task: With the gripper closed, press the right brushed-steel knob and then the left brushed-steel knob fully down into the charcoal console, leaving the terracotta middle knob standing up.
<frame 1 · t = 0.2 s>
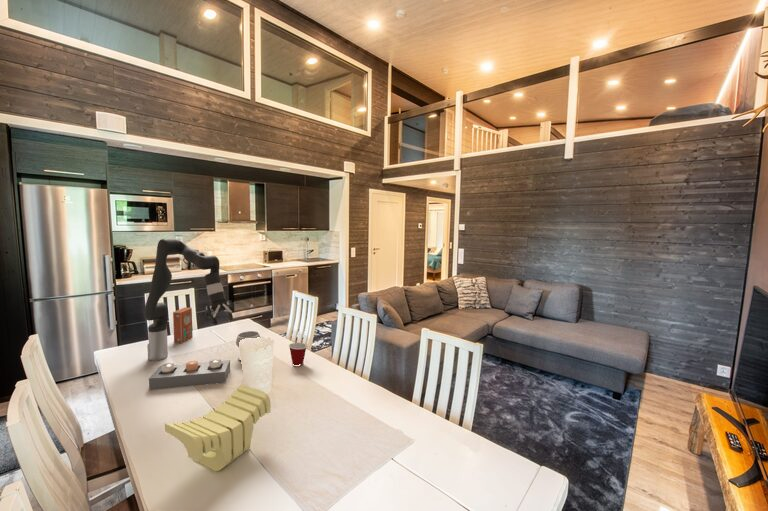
hand: (223, 322, 172), 30 cm above the table, tool tilted 20°, fingers open, 8 cm apart
plastic cup: (298, 364, 194), on the table
left knob: (168, 369, 169), point 6 cm above the table, slide at 0.0 cm
console: (192, 379, 172), on the table
slatted curved stool: (223, 454, 118), on the table
right knob: (215, 365, 175), point 6 cm above the table, slide at 0.0 cm
middle knob: (192, 367, 172), point 7 cm above the table, slide at 0.0 cm
chalice: (248, 358, 201), on the table
orange cracker box: (183, 340, 228), on the table
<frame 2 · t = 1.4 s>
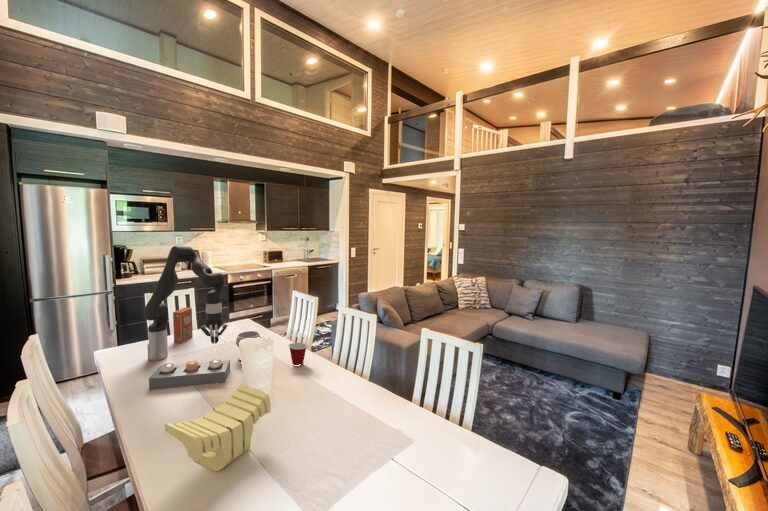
hand: (214, 343, 174), 19 cm above the table, tool pointing down, fingers closed
nothing on the table moved.
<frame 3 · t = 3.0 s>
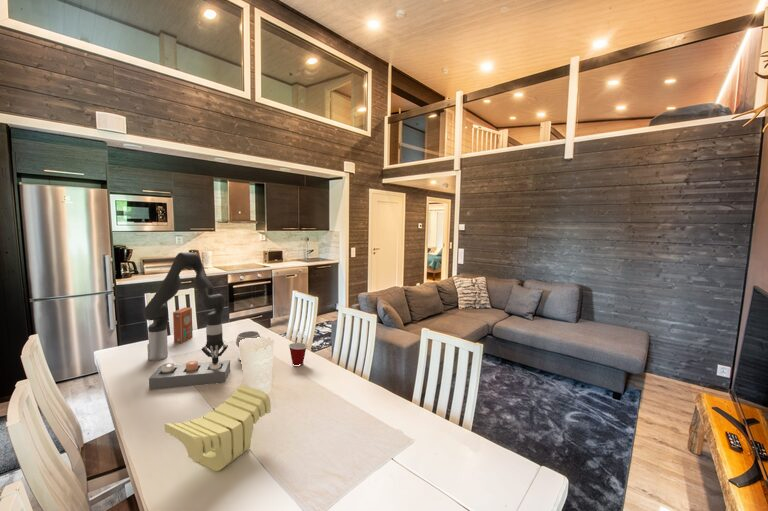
hand: (215, 363, 175), 8 cm above the table, tool pointing down, fingers closed
right knob: (215, 368, 175), point 5 cm above the table, slide at 1.3 cm, touching gripper
everything else where it was.
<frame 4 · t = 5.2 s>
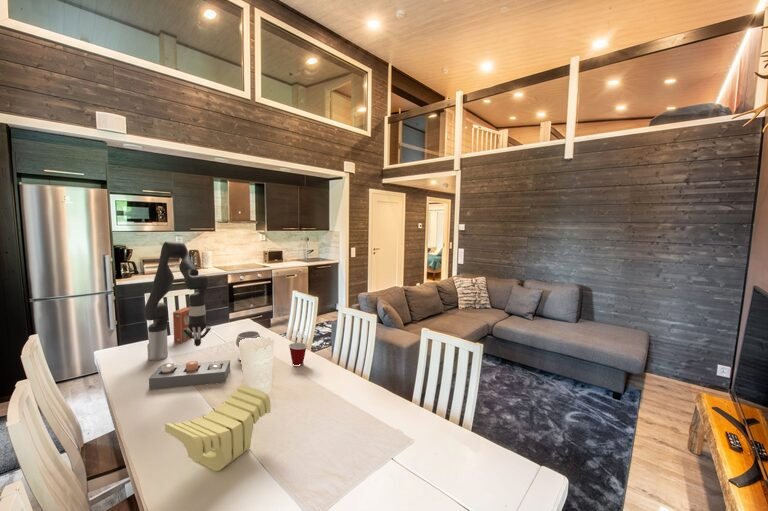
hand: (197, 345, 172), 18 cm above the table, tool pointing down, fingers closed
right knob: (215, 370, 175), point 4 cm above the table, slide at 2.5 cm
everything else where it was.
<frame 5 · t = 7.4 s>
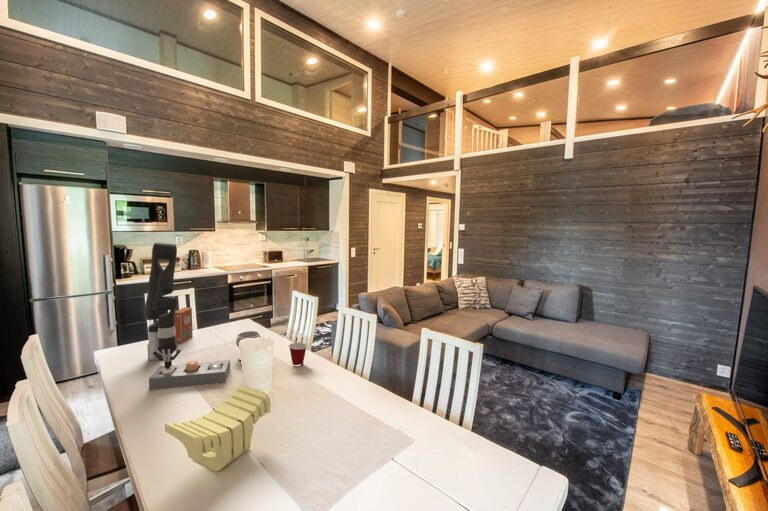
hand: (168, 367, 169), 8 cm above the table, tool pointing down, fingers closed
left knob: (168, 372, 169), point 5 cm above the table, slide at 1.5 cm, touching gripper
everything else where it was.
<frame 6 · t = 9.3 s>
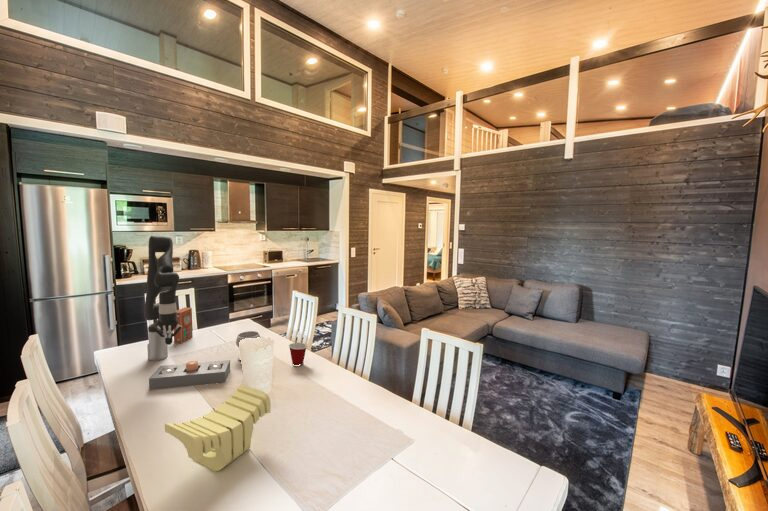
hand: (168, 344, 169), 19 cm above the table, tool pointing down, fingers closed
left knob: (168, 374, 169), point 4 cm above the table, slide at 2.6 cm
everything else where it was.
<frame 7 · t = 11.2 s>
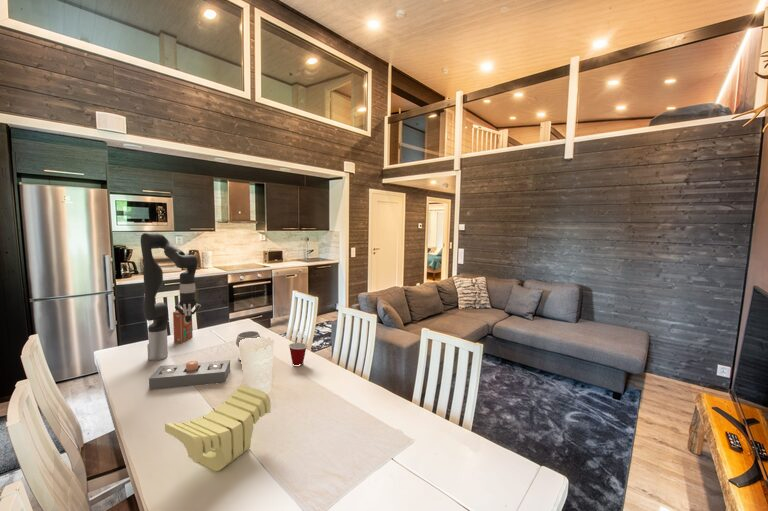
hand: (188, 321, 183), 27 cm above the table, tool pointing down, fingers closed
nothing on the table moved.
at the end: right knob slide at 2.5 cm; left knob slide at 2.6 cm; middle knob slide at 0.0 cm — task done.
